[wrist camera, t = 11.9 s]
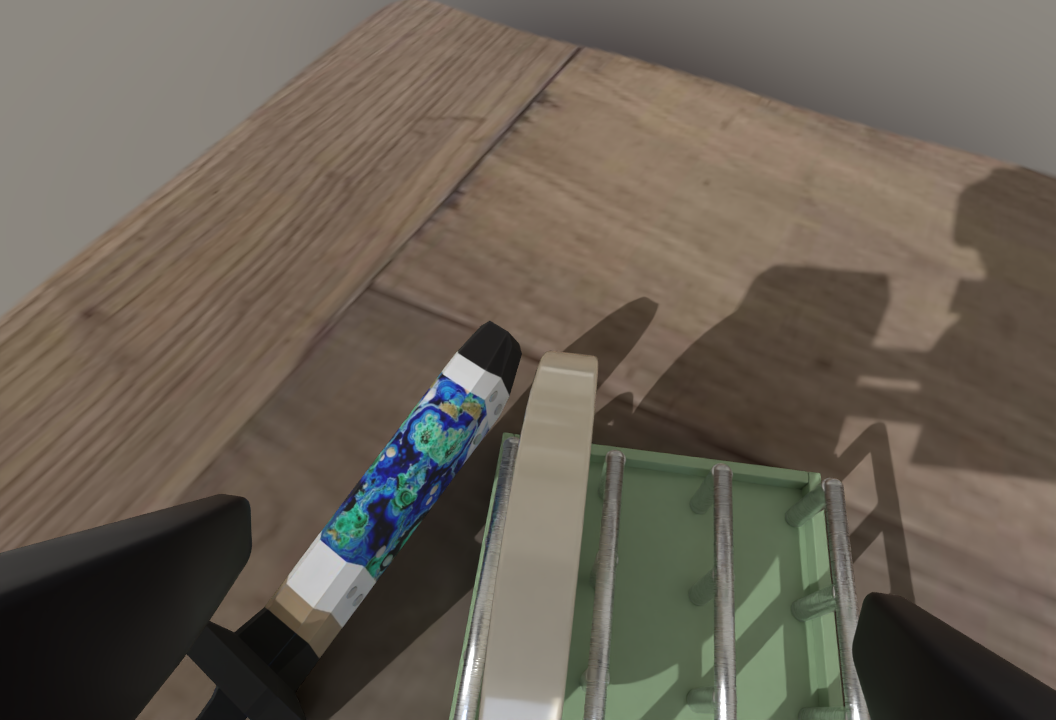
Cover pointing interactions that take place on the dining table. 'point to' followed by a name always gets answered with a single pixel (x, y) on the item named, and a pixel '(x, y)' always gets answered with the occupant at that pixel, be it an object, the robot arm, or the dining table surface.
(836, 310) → the dining table surface
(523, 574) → the plate
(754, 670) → the dish rack
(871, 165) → the dining table surface
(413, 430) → the knife
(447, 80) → the dining table surface
